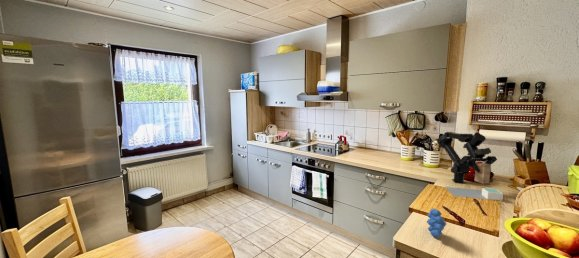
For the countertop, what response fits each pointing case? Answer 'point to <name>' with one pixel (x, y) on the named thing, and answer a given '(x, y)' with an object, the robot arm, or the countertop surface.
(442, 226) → the grapes
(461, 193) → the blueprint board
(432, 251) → the countertop surface
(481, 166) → the walnut pillar
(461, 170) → the robot arm
